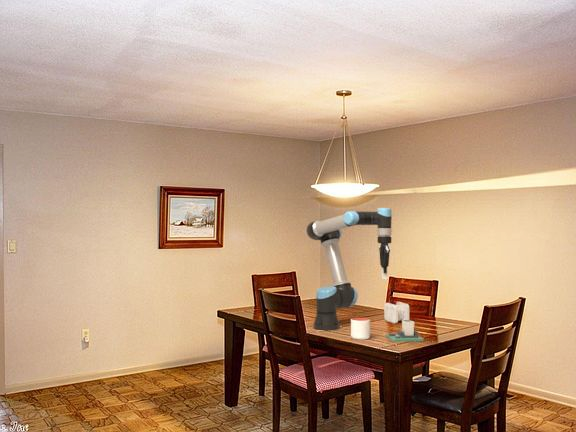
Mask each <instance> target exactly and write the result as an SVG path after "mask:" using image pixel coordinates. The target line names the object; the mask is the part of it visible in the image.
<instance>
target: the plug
mask: <svg viewBox="0 0 576 432" xmlns="http://www.w3.org/2000/svg"><path fill="white" fill-rule="evenodd" d="M415 325H416V324H415V321H413V320H411V319H409V320H404V321H401V330H402V331H403V332H404V336H411V335H414V330H415V327H416V326H415Z"/></svg>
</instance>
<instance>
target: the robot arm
mask: <svg viewBox="0 0 576 432" xmlns="http://www.w3.org/2000/svg"><path fill="white" fill-rule="evenodd" d="M392 216H393V213H392V208H390V207H378V208H377V211H357V210H356V211H355V210H349V211H346V212H345V213H344V214H341V215H337V216H333V217H331V218H327V219H324V220H323V219H322V220H314V221H311V222H309V224H308V225H307V226H306V235H307V236H308V237H309V239H311V240H314V241H320V244H321V245H320V246H322V247H324V250H325V253H326V254H325V255H326V258H327V263H328V267H329V271H330V277H331V280H332V283H333V284H332V285H331V286H330V285H329V286H322V287H319V288H317V290H316V295H315V297H316V298H315V299H316V309H315V310H316V315H315V318H314V321H313V329H316V330H322V331H333V330H335V331H336V330H338V329H340V321H339V318H338V314H337V309H343V308H345V309H346V308H350V307H353V306H355V305H356V303H357V301H358V297H359V296H358V291H357V289H356V288H355V287H353V286H352V284H351V282H350V281H349V280H348V279H347V273H346V270H345V266H344V263H343V262H344V261H343V258H342V254H341V250H340V246H339V242H340V241H341V240H340V238H341V236H342V229H346V228H350V227H354V226H377V228H376V229H377V230H376V231H377V233H376V234H377V243H378V244H380V247H378V250H379V265H380V267H381V280H388V267H389V266H390V265H389V264H390V263H389V262H390V252H391V250H390V247H389V244H391V243H392V237H391V236H392V232H393V229H392Z"/></svg>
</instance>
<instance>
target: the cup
mask: <svg viewBox="0 0 576 432" xmlns="http://www.w3.org/2000/svg"><path fill="white" fill-rule="evenodd" d="M350 337H351V338H352V339H353V340H358V341H360V340H361V341H362V340H363V341H364V340H368V339H370V338H371V319H370V318H367V317H353V318H350Z"/></svg>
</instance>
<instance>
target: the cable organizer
mask: <svg viewBox="0 0 576 432" xmlns="http://www.w3.org/2000/svg"><path fill="white" fill-rule="evenodd" d="M383 307H384V309H383V311H384V312H383V314H384V316H383V318H384V320H385V321H386V322H388V323H391V324H393V325H396V324H398V322H402V321H404V320H410V305H409V303H404V302H401V301H396V303H395V304H393V303H391V302H385V303H384V306H383Z"/></svg>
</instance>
